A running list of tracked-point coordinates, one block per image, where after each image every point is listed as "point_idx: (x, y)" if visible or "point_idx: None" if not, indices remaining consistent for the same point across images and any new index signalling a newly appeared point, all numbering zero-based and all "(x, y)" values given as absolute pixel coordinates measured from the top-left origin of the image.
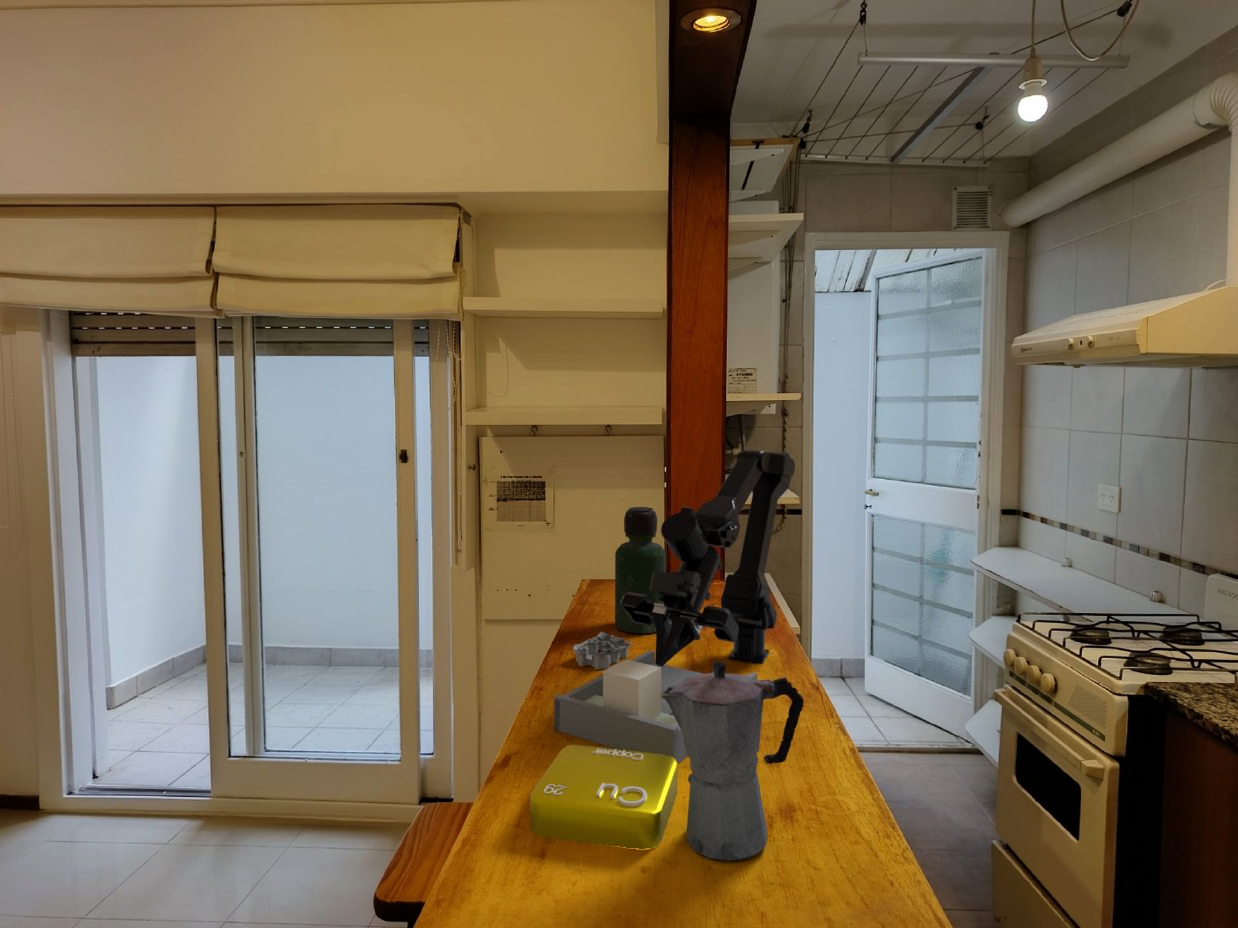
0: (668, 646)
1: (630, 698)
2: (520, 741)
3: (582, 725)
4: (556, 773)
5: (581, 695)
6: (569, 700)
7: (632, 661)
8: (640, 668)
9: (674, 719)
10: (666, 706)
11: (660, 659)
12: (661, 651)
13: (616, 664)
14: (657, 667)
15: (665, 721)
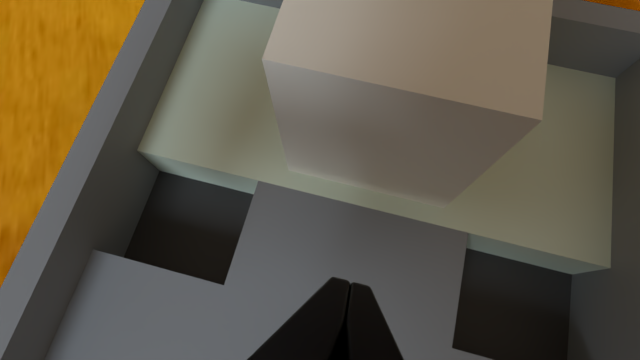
0: (268, 353)
1: None
2: (634, 9)
3: None
4: None
5: (634, 162)
6: (614, 9)
7: (481, 96)
8: (381, 5)
9: (230, 146)
10: (286, 250)
11: (331, 286)
12: (336, 327)
13: (549, 18)
14: (285, 53)
15: (257, 121)
